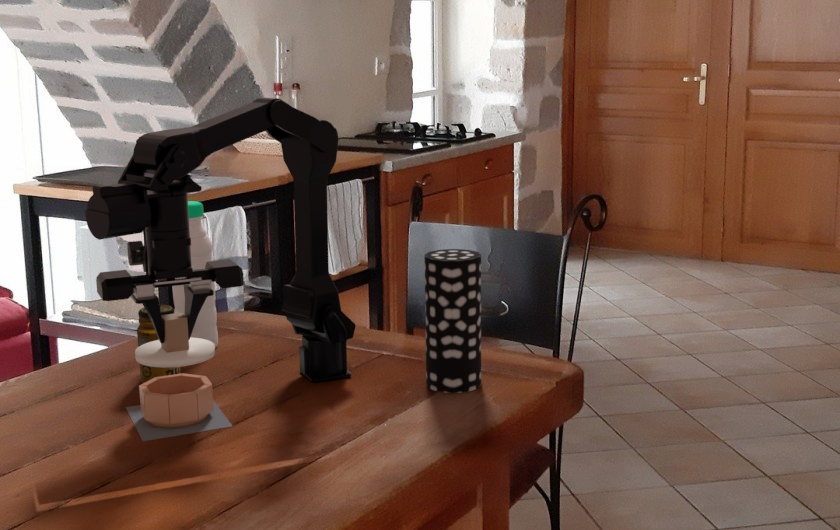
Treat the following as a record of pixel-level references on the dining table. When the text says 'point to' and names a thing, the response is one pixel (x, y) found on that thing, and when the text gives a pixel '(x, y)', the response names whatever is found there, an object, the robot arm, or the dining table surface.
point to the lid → (175, 346)
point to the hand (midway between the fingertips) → (174, 340)
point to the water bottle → (199, 257)
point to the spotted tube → (453, 320)
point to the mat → (153, 432)
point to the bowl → (176, 400)
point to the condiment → (148, 335)
